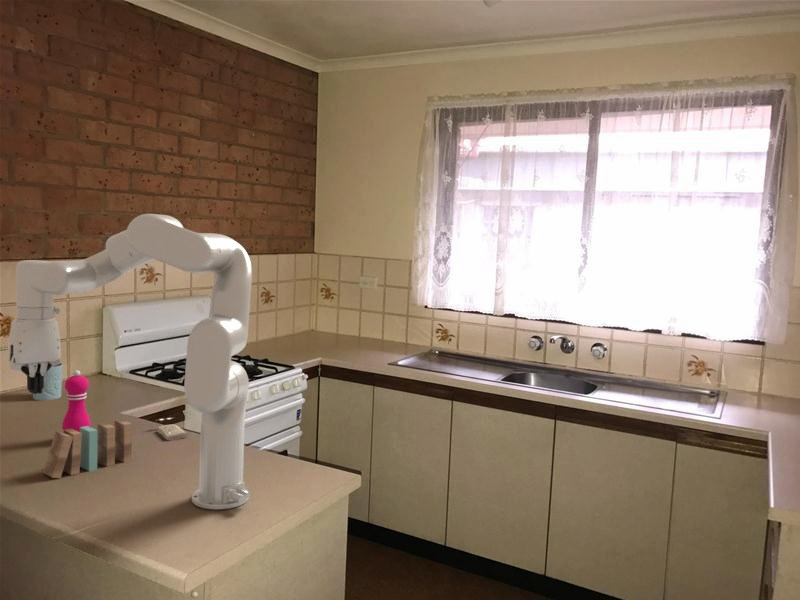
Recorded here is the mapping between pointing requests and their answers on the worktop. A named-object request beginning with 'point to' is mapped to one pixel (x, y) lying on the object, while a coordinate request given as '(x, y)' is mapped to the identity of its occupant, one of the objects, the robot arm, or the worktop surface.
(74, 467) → the domino
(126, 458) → the domino
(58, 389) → the light blue cup
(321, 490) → the worktop surface
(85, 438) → the domino
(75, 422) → the pepper mill
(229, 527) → the worktop surface
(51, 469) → the domino
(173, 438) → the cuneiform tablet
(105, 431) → the domino
